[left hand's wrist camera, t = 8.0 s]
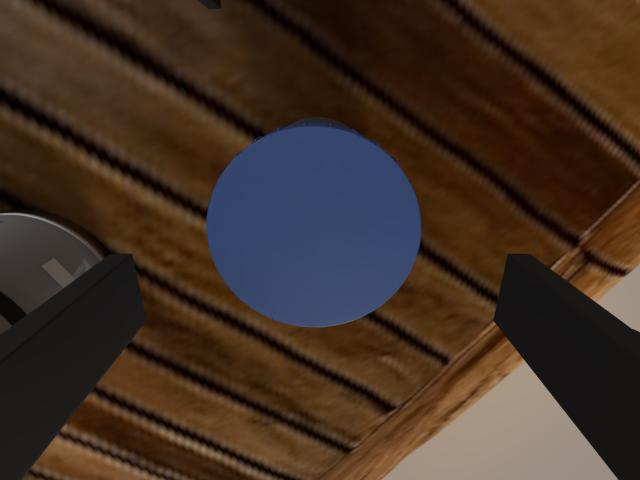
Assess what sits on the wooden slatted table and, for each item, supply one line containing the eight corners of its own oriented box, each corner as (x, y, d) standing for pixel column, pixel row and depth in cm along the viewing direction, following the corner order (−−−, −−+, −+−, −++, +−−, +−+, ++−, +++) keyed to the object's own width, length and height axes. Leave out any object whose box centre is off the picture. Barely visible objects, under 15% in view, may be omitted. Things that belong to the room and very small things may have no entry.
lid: (247, 317, 20) (238, 341, 18) (191, 143, 16) (174, 150, 14) (419, 289, 19) (430, 311, 17) (400, 101, 16) (412, 102, 14)
